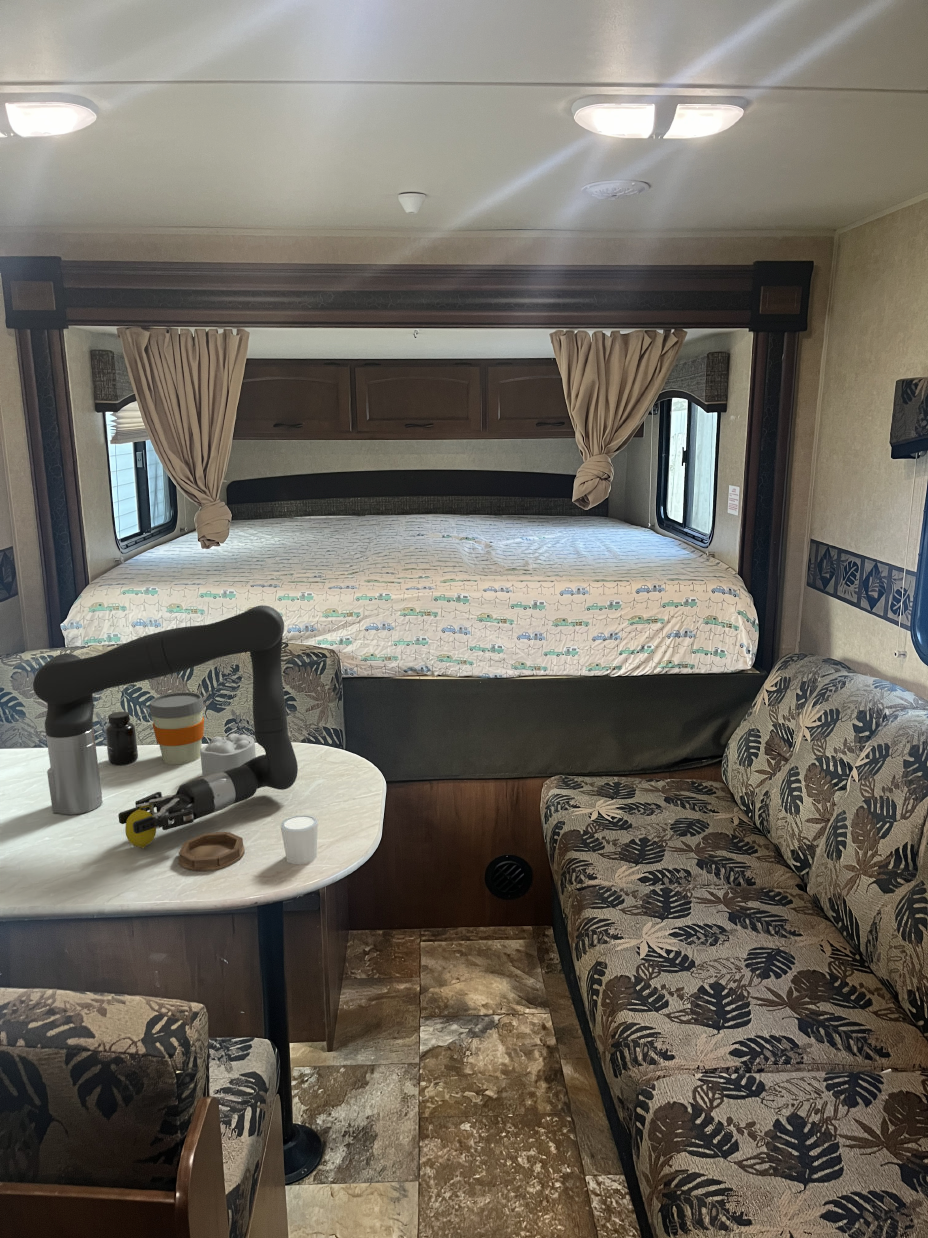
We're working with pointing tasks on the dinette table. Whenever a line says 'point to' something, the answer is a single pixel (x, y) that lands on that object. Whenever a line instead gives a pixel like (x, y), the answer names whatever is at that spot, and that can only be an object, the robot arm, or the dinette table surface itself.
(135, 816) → the lemon
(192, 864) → the ring dish
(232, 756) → the lumpy-topped squat cylinder
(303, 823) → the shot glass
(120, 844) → the dinette table surface
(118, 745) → the supplement bottle
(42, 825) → the dinette table surface
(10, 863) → the dinette table surface
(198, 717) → the reusable coffee cup
